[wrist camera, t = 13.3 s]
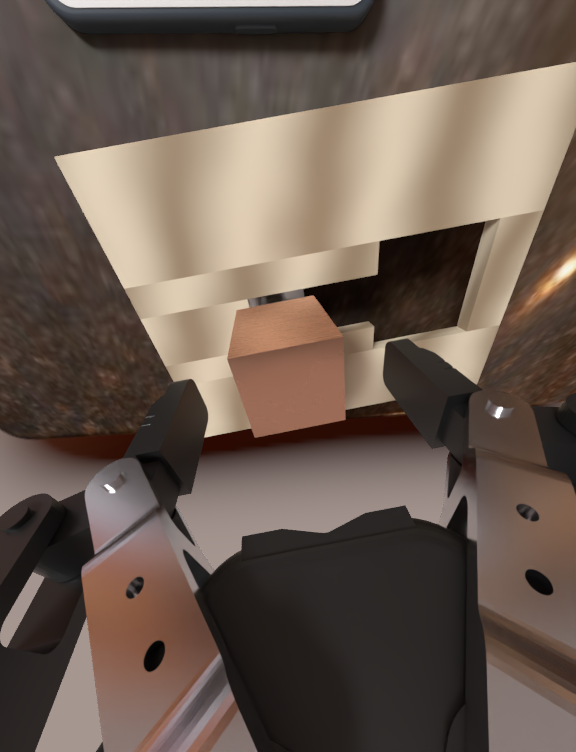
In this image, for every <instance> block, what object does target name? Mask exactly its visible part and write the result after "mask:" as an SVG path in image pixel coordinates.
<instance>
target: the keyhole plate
mask: <svg viewBox="0 0 576 752" xmlns="http://www.w3.org/2000/svg"><path fill="white" fill-rule="evenodd" d="M575 128H576V62H573V63H568V64H562V65H557V66H551V67H546V68H540V69H535V70H529V71H524V72H518V73H513V74H507V75H502V76H496V77H491V78H485V79H480V80H474V81H469V82H463V83H458V84H452V85H447V86H441V87H436V88H430V89H425V90H419V91H414V92H408V93H403V94H397V95H392V96H386V97H381V98H375V99H370V100H364V101H359V102H353V103H348V104H342V105H337V106H331V107H326V108H320V109H315V110H309V111H304V112H298V113H293V114H287V115H282V116H276V117H271V118H265V119H260V120H254V121H249V122H243V123H238V124H232V125H227V126H221V127H216V128H210V129H205V130H199V131H194V132H188V133H183V134H177V135H172V136H166V137H161V138H155V139H150V140H144V141H139V142H133V143H128V144H122V145H117V146H111V147H105V148H100V149H94V150H89V151H83V152H78V153H72V154H67V155H61V156H56V157H54V158H55V160H56V162H57V164H58V165H59V167H60V169H61V171H62V173H63V175H64V177H65V179H66V180H67V182H68V184H69V186H70V188H71V190H72V192H73V194H74V195H75V197H76V199H77V201H78V203H79V205H80V207H81V209H82V210H83V212H84V214H85V216H86V218H87V220H88V222H89V224H90V225H91V227H92V229H93V231H94V233H95V235H96V237H97V239H98V240H99V242H100V244H101V246H102V248H103V250H104V252H105V254H106V255H107V257H108V259H109V261H110V263H111V265H112V267H113V269H114V270H115V272H116V274H117V276H118V278H119V280H120V282H121V284H122V285H123V287H124V289H125V291H126V293H127V295H128V297H129V299H130V300H131V302H132V304H133V306H134V308H135V310H136V312H137V314H138V315H139V317H140V319H141V321H142V323H143V325H144V327H145V329H146V330H147V332H148V334H149V336H150V338H151V340H152V342H153V344H154V345H155V347H156V349H157V351H158V353H159V355H160V357H161V359H162V360H163V362H164V364H165V366H166V368H167V370H168V372H169V374H170V375H171V377H172V379H173V381H174V382H176V381H181V380H187V379H192V380H193V381H194V382H195V384H196V386H197V388H198V390H199V392H200V394H201V396H202V398H203V400H204V403H205V405H206V407H207V410H208V423H207V428H206V432H205V436H204V437H209V436H213V435H218V434H224V433H229V432H234V431H239V430H244V429H250V428H251V425H250V423H249V420H248V417H247V414H246V411H245V408H244V406H243V403H242V400H241V397H240V394H239V391H238V389H237V386H236V383H235V380H234V377H233V374H232V372H231V369H230V366H229V363H228V360H227V357H228V352H229V347H230V341H231V336H232V331H233V326H234V321H235V316H236V310H240V309H245V308H250V307H251V306H250V302H249V299H251V298H256V297H262V296H267V295H272V294H278V293H283V292H288V291H294V290H299V289H304V288H309V287H315V286H320V285H325V284H331V283H336V282H341V281H346V280H352V279H357V278H362V277H368V276H373V275H377V274H378V258H379V242H380V241H382V240H387V239H393V238H398V237H403V236H409V235H414V234H419V233H424V232H430V231H435V230H440V229H446V228H451V227H456V226H462V225H467V224H472V223H478V222H483V221H486V222H485V226H484V229H483V233H482V237H481V240H480V244H479V247H478V251H477V255H476V258H475V262H474V266H473V269H472V273H471V277H470V280H469V284H468V287H467V291H466V295H465V298H464V302H463V306H462V309H461V313H460V317H459V320H458V324H457V326H456V327H451V328H445V329H440V330H435V331H430V332H425V333H419V334H414V335H409V336H404V337H398V338H393V339H388V340H383V341H378V342H373V339H374V326H373V325H372V324H371V323H370V322H369V321H368V322H362V323H357V324H352V325H347V326H341V327H337V328H338V330H339V331H340V332H341V334H342V335H343V336H344V377H345V410H347V409H352V408H358V407H363V406H368V405H373V404H378V403H383V402H388V401H394V400H395V398H394V397H393V396H392V394H391V393H390V392H389V390H388V389H387V388H386V386H385V384H384V380H383V365H384V354H385V346H386V343H387V342H390V341H395V340H400V339H406V338H407V339H409V340H411V341H412V342H413V343H414V344H415V345H417V346H418V347H419V348H424V349H427V350H429V351H432V352H434V353H436V354H437V355H439V356H440V357H441V358H443V359H444V360H445V362H448V363H449V364H450V365H451V366H453V368H455V369H457V370H458V371H459V372H460V373H462V374H463V375H464V376H466V377H467V378H468V379H469V380H471V381H472V382H473V383H475V384H477V383H478V380H479V377H480V375H481V372H482V370H483V367H484V364H485V362H486V359H487V357H488V354H489V351H490V349H491V346H492V344H493V341H494V338H495V336H496V333H497V331H498V328H499V325H500V323H501V320H502V318H503V315H504V312H505V310H506V307H507V305H508V302H509V299H510V297H511V294H512V292H513V289H514V286H515V284H516V281H517V279H518V276H519V273H520V271H521V268H522V266H523V263H524V260H525V258H526V255H527V253H528V250H529V247H530V245H531V242H532V240H533V237H534V234H535V232H536V229H537V227H538V224H539V221H540V219H541V216H542V214H543V211H544V208H545V206H546V203H547V201H548V198H549V195H550V193H551V190H552V188H553V185H554V182H555V180H556V177H557V175H558V172H559V169H560V167H561V164H562V162H563V159H564V156H565V154H566V151H567V148H568V146H569V143H570V141H571V138H572V135H573V133H574V130H575Z"/></svg>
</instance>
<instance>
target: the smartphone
mask: <svg viewBox="0 0 576 752" xmlns="http://www.w3.org/2000/svg"><path fill="white" fill-rule="evenodd" d="M45 1H46V3H47V4H48V5H49V6H50V8H51V9H52V10H53V11H54V12H55V13H56V14H57V15H58V16H59V17H60V18H61V19H62V20H63V21H64V22H65V23H66V24H68V25H69V26H70V27H71V28H73V29H74V30H76V31H79V32H81V33H87V34H201V33H238V34H274V33H313V32H349V31H352V30H354V29H356V28H357V27H358V26H359V25H360V24H361V23H362V22H363V21H364V19H365V17H366V16H367V14H368V12H369V10H370V8H371V6H372V5H373V3H374V0H45Z"/></svg>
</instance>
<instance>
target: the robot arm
mask: <svg viewBox="0 0 576 752" xmlns="http://www.w3.org/2000/svg"><path fill="white" fill-rule="evenodd" d="M383 380H384V384H385V386H386V388H387V389H388V390H389V392H390V393H391V394H392V396H393V397H394V398H395V400H396V401H397V402H398V404H399V405H400V406H401V408H402V409H403V410H404V412H405V413H406V415H407V416H408V417H409V418H410V420H411V421H412V423H413V424H414V425H415V427H416V428H417V429H418V431H419V432H420V433H421V435H422V436H423V437H424V439H425V440H426V441H427V443H428V444H429V445H430V447H431V448H438V447H443V446H446V447H447V448H448V450H449V454H448V457H447V469H446V480H445V490H444V502H443V508H442V513H441V516H440V521H439V525H438V524H435V523H431V522H429V521H425V520H420V519H415V518H411V516H410V514H409V512H408V510H407V508H406V506H400V507H396V508H390V509H385V510H379V511H374V512H369V513H365V514H363V515H361V516H359V517H357V518H355V519H353V520H351V521H350V522H348V523H346V524H344V525H342V526H340V527H338V528H336V529H334V530H333V531H330V532H328V533H315V532H306V531H296V530H287V529H280V530H274V531H269V532H264V533H259V534H254V535H249V536H243V537H242V550H241V551H239V552H237V553H236V554H234V555H233V556H231V557H230V558H228V559H227V560H226V561H225V562H224V563H222V564H221V565H220V566H219V567H218V568H217V569H216V570H214V569H213V567H212V566H211V564H210V563H209V561H208V560H207V559H206V557H205V556H204V554H203V553H202V551H201V549H200V547H199V546H198V544H197V542H196V540H195V538H194V537H193V535H192V533H191V531H190V529H189V527H188V525H187V524H186V522H185V520H184V518H183V516H182V515H181V513H180V511H179V509H178V508H177V506H176V502H177V498H178V496H180V495H186V494H191V491H192V487H193V483H194V479H195V475H196V470H197V466H198V462H199V457H200V453H201V449H202V444H203V441H204V436H205V432H206V428H207V423H208V410H207V407H206V405H205V403H204V400H203V398H202V396H201V394H200V392H199V390H198V388H197V386H196V384H195V382H194V381H193V380H192V379H187V380H181V381H176V382H172V383H171V384H170V386H169V388H168V390H167V392H166V394H165V396H162V397H160V398H159V399H158V400H157V401H156V402H155V403H154V404H153V405H152V406H151V408H150V410H149V411H148V413H147V415H146V418H145V419H144V421H143V422H142V424H141V427H140V428H139V430H138V432H137V433H136V435H135V437H134V439H133V441H132V443H131V444H130V446H129V448H128V450H127V452H126V454H125V455H124V457H123V459H120V460H117V461H115V462H113V463H111V464H109V465H108V466H106V467H105V468H103V469H102V470H101V471H100V472H99V473H97V474H96V475H95V477H94V478H93V479H92V480H91V481H90V483H89V484H88V486H87V488H86V490H84V491H82V492H80V493H78V494H75V495H73V496H71V497H68V498H66V499H64V500H62V501H59V502H58V501H56V500H55V499H54V498H52V497H51V496H50V495H48V494H38V495H34V496H31V497H29V498H27V499H25V500H23V501H21V502H19V503H18V504H16V505H15V506H13V507H12V508H10V509H9V510H8V511H7V512H5V513H4V514H3V515H2V516H1V517H0V631H1V627H2V625H3V622H4V620H5V618H6V617H7V615H8V613H9V612H10V610H11V608H12V606H13V605H14V603H15V601H16V599H17V598H18V596H19V594H20V593H21V591H22V589H23V588H24V586H25V584H26V582H27V580H28V579H29V577H30V576H31V574H32V572H34V573H37V574H39V575H41V576H44V577H45V578H44V580H43V582H42V584H41V586H40V587H39V589H38V591H37V593H36V595H35V597H34V599H33V600H32V602H31V604H30V606H29V608H28V610H27V612H26V614H25V615H24V617H23V619H22V621H21V623H20V625H19V626H18V628H17V630H16V632H15V634H14V636H13V637H12V639H11V641H10V643H9V645H8V647H7V648H6V647H4V646H3V645H2V644H1V643H0V752H35V750H36V747H37V745H38V742H39V739H40V737H41V734H42V731H43V729H44V726H45V723H46V721H47V718H48V716H49V713H50V711H51V708H52V705H53V703H54V700H55V698H56V695H57V692H58V690H59V687H60V684H61V682H62V679H63V677H64V674H65V671H66V669H67V666H68V664H69V661H70V658H71V656H72V653H73V651H74V648H75V645H76V643H77V640H78V637H79V635H80V632H81V630H82V627H83V624H84V622H85V619H86V617H87V623H88V631H89V638H90V646H91V654H92V662H93V670H94V677H95V686H96V693H97V701H98V708H99V717H100V724H101V732H102V740H103V742H102V743H101V745H100V747H99V748H98V750H97V751H96V752H576V393H574V394H571V395H569V396H568V397H567V398H566V399H565V401H564V402H563V404H562V405H561V407H540V406H529V405H528V404H527V403H526V402H525V401H523V400H522V399H520V398H518V397H516V396H514V395H511V394H509V393H505V392H501V391H496V390H482V389H481V388H480V387H478V386H477V385H476V384H475V383H473V382H472V381H471V380H469V379H468V378H467V377H466V376H464V375H463V374H462V373H460V372H459V371H458V370H457V369H455V368H453V366H451V365H450V364H449V363H448V362H445V360H444V359H443V358H441V357H440V356H439V355H437V354H436V353H434V352H432V351H429V350H427V349H424V348H419V347H418V346H417V345H415V344H414V343H413V342H412V341H411V340H409V339H407V338H406V339H400V340H395V341H390V342H387V343H386V346H385V354H384V365H383Z"/></svg>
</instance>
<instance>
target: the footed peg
mask: <svg viewBox="0 0 576 752" xmlns="http://www.w3.org/2000/svg"><path fill="white" fill-rule="evenodd" d="M249 302H250V306H251V307H250V308H245V309H240V310H236V316H235V321H234V326H233V331H232V336H231V341H230V347H229V352H228V357H227V360H228V363H229V366H230V369H231V372H232V374H233V377H234V380H235V383H236V386H237V389H238V391H239V394H240V397H241V400H242V403H243V406H244V408H245V411H246V414H247V417H248V420H249V423H250V425H251V428H252V431H253V434H254V437H260V436H266V435H270V434H276V433H281V432H285V431H291V430H296V429H301V428H306V427H311V426H316V425H321V424H326V423H331V422H337V421H342V420H345V377H344V336H343V335H342V334H341V332H340V331H339V330H338V328H337V327H336V325H335V324H334V323H333V321H332V320H331V319H330V317H329V316H328V314H327V313H326V312H325V310H324V309H323V308H322V306H321V305H320V303H319V302H318V301H317V299H316V298H315V297H314V295H312V296H307V297H304V291H303V289H299V290H294V291H288V292H283V293H278V294H272V295H267V296H262V297H256V298H251V299H249Z"/></svg>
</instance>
